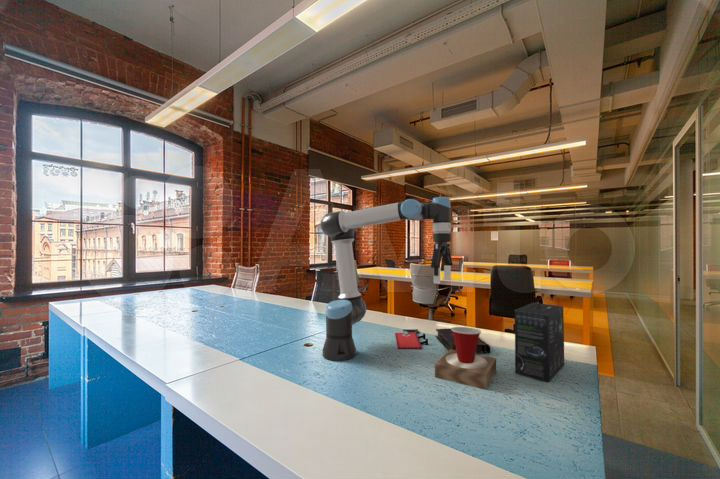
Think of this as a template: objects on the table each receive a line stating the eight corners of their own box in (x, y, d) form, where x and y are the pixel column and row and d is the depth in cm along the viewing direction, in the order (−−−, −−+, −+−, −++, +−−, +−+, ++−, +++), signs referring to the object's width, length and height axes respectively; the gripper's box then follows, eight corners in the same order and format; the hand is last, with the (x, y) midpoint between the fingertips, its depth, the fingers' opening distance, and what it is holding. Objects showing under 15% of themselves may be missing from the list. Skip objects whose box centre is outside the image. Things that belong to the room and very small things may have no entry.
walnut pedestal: (435, 377, 115) (434, 363, 115) (450, 361, 130) (450, 348, 130) (486, 389, 105) (486, 374, 105) (496, 370, 119) (496, 357, 119)
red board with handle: (421, 330, 174) (394, 331, 174) (421, 325, 174) (394, 326, 174) (430, 350, 144) (398, 350, 144) (430, 344, 144) (397, 345, 144)
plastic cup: (482, 357, 120) (481, 326, 120) (480, 368, 110) (480, 334, 110) (453, 353, 124) (452, 323, 124) (449, 363, 114) (448, 330, 114)
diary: (468, 337, 163) (468, 328, 163) (490, 355, 138) (490, 344, 138) (433, 337, 162) (433, 328, 162) (449, 355, 137) (449, 344, 137)
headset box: (532, 357, 133) (531, 297, 133) (565, 365, 124) (564, 300, 124) (513, 373, 117) (512, 305, 117) (549, 383, 109) (548, 310, 109)
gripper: (440, 232, 122) (441, 285, 122) (459, 233, 143) (459, 279, 143) (422, 232, 126) (423, 284, 126) (443, 233, 147) (443, 278, 147)
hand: (442, 281), depth 134 cm, fingers open, 13 cm apart
